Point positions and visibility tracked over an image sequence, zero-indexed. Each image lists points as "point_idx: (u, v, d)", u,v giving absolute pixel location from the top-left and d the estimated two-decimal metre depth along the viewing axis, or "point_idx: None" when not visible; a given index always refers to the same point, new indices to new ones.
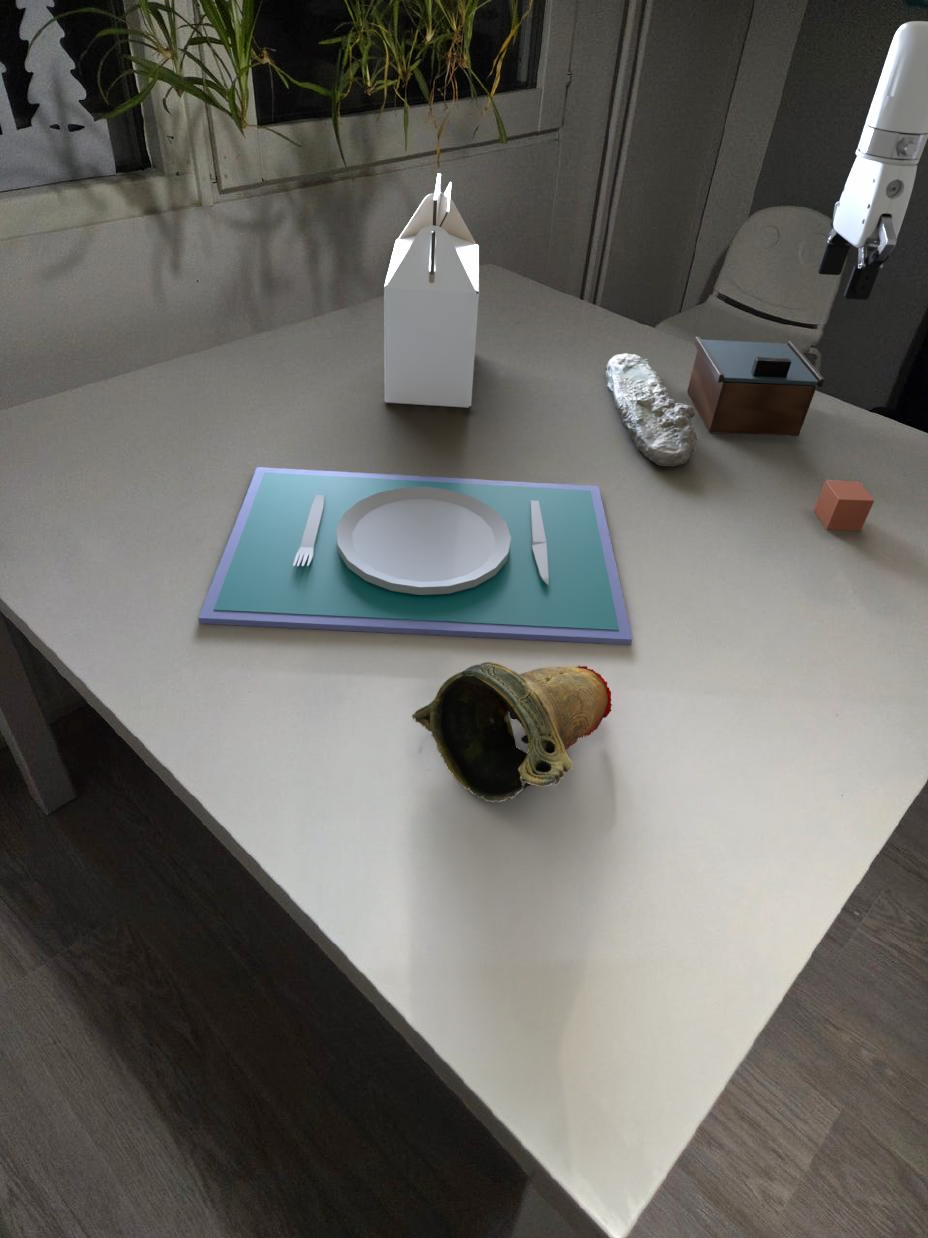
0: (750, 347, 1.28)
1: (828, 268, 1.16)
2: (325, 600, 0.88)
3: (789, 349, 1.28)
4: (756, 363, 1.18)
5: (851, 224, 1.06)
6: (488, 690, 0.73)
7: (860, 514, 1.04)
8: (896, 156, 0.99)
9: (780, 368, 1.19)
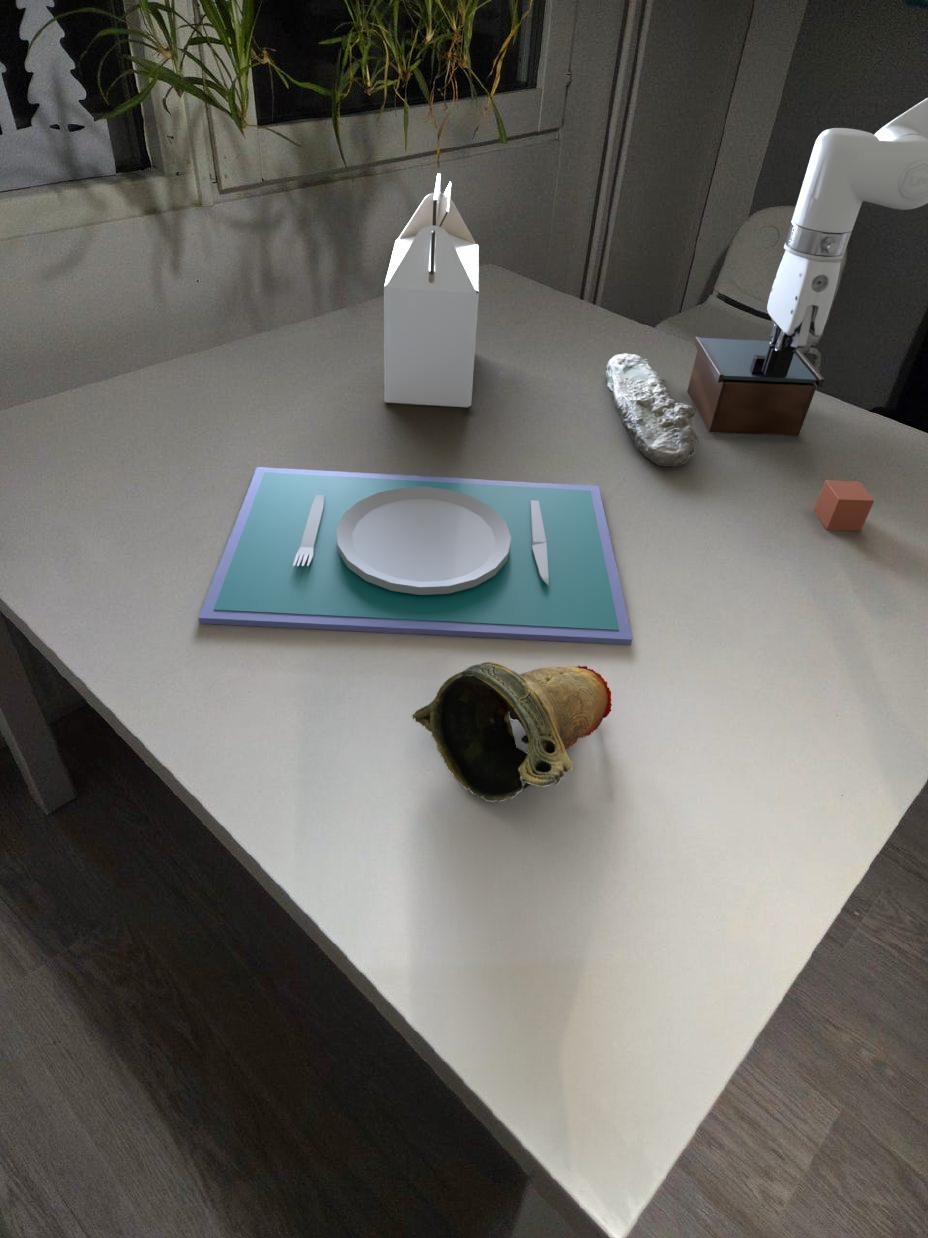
0: (749, 345, 1.28)
1: None
2: (325, 600, 0.88)
3: None
4: (755, 361, 1.19)
5: (782, 312, 1.11)
6: (488, 690, 0.73)
7: (860, 514, 1.04)
8: (820, 253, 1.04)
9: None
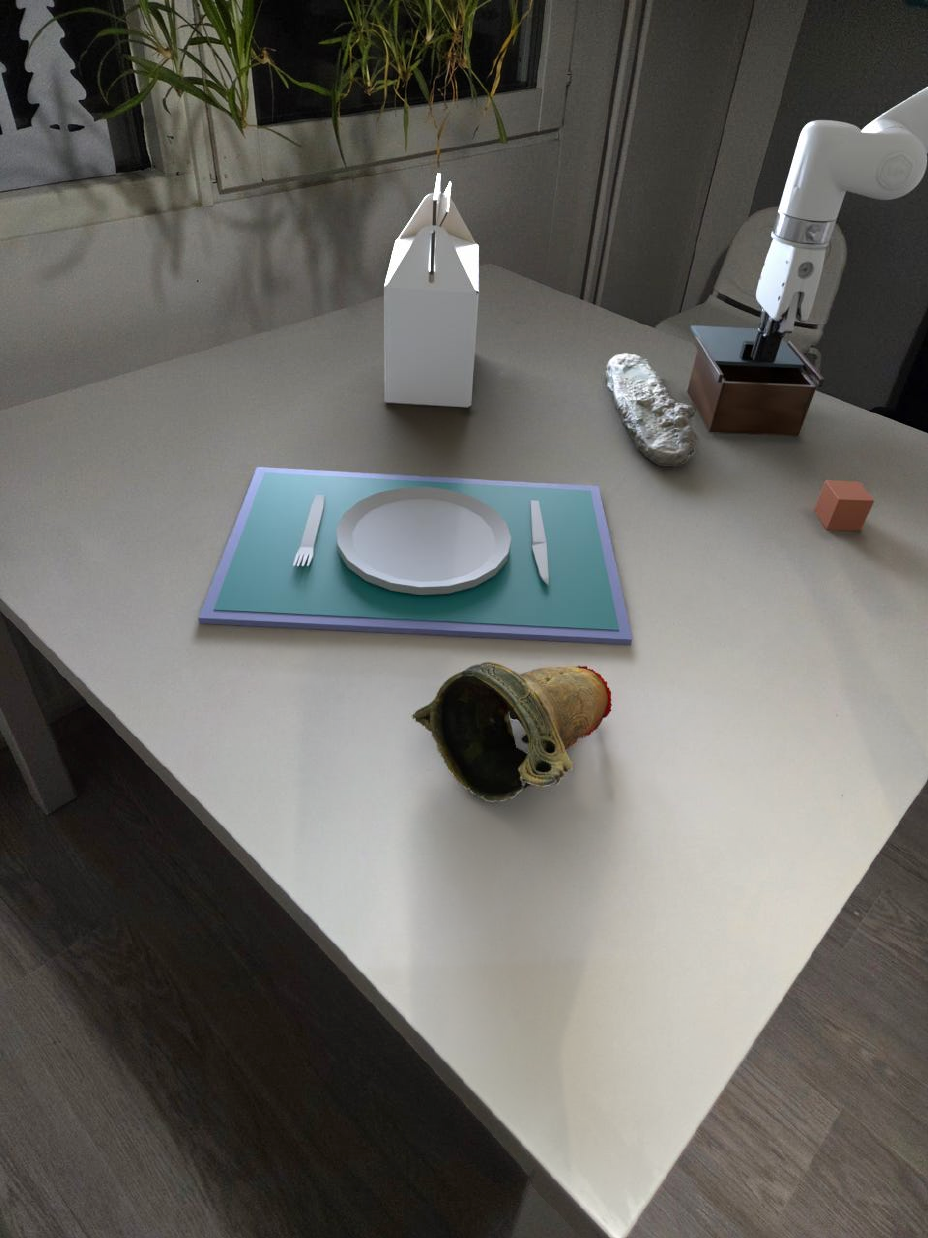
0: (739, 332, 1.32)
1: None
2: (325, 600, 0.88)
3: None
4: (744, 347, 1.23)
5: (769, 299, 1.15)
6: (488, 690, 0.73)
7: (860, 514, 1.04)
8: (806, 241, 1.08)
9: None
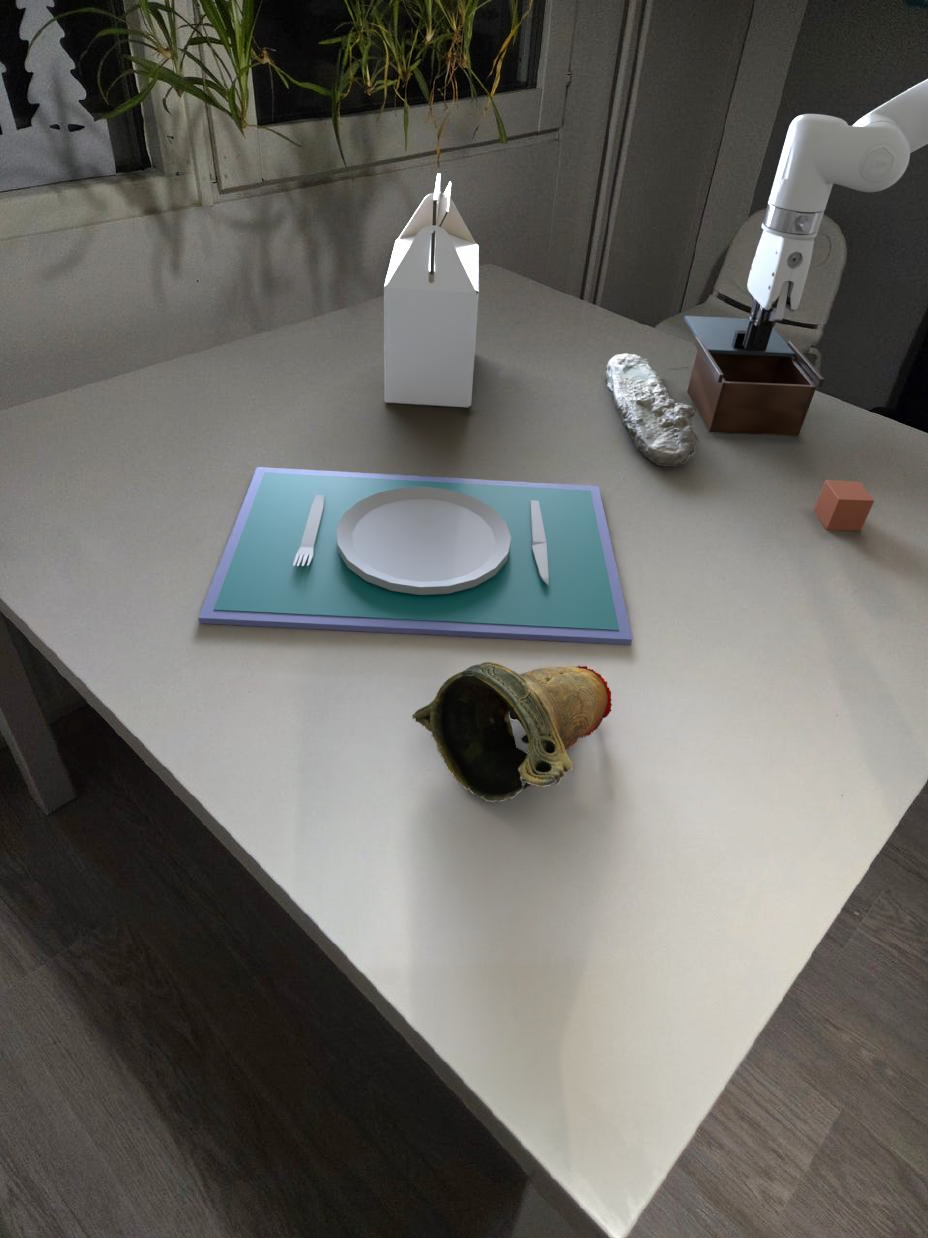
0: (732, 322, 1.35)
1: None
2: (325, 600, 0.88)
3: None
4: (736, 336, 1.26)
5: (760, 288, 1.18)
6: (488, 690, 0.73)
7: (860, 514, 1.04)
8: (795, 231, 1.11)
9: None
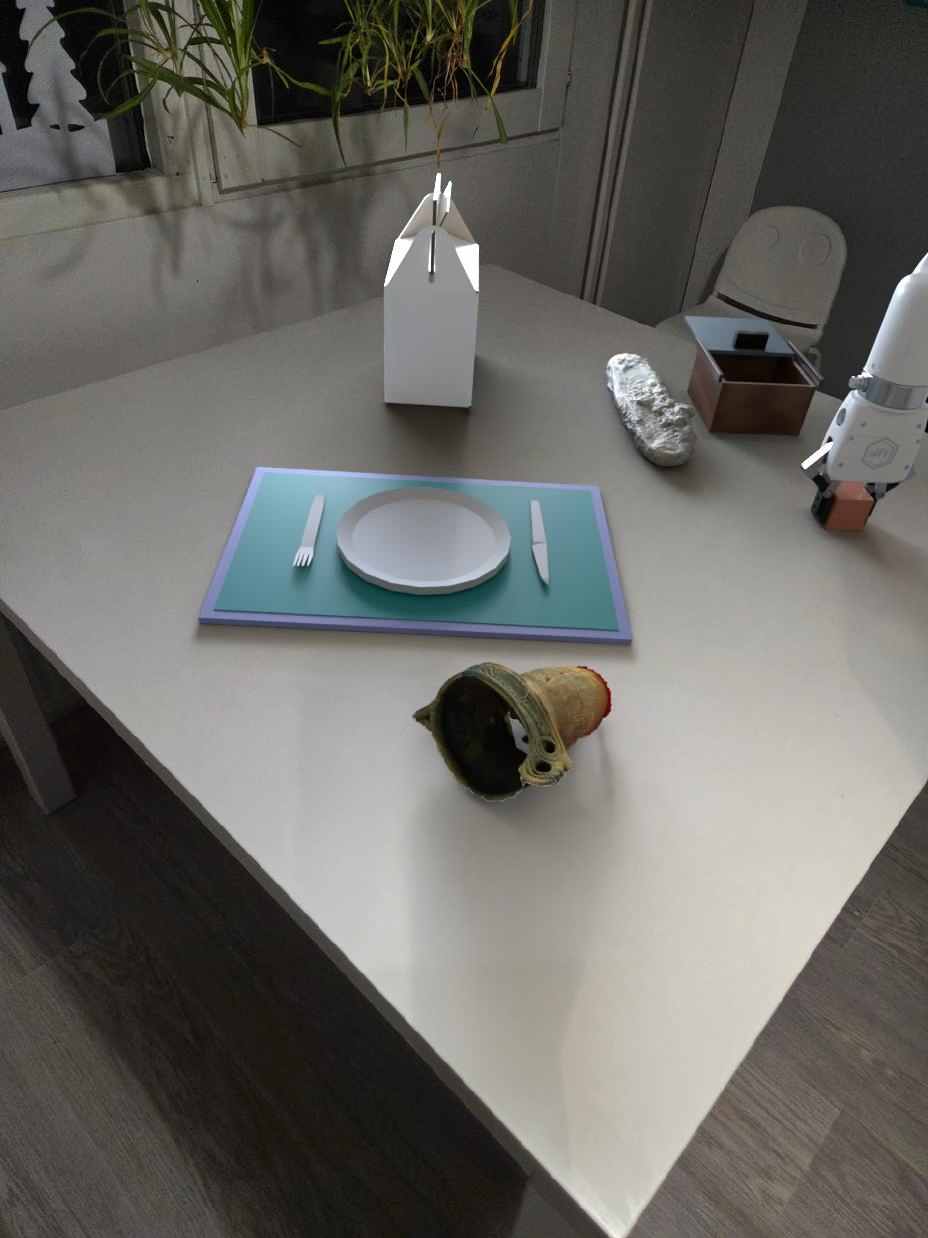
0: (732, 323, 1.35)
1: None
2: (325, 600, 0.88)
3: (769, 325, 1.36)
4: (736, 336, 1.26)
5: None
6: (488, 690, 0.73)
7: (860, 514, 1.04)
8: None
9: (759, 341, 1.27)
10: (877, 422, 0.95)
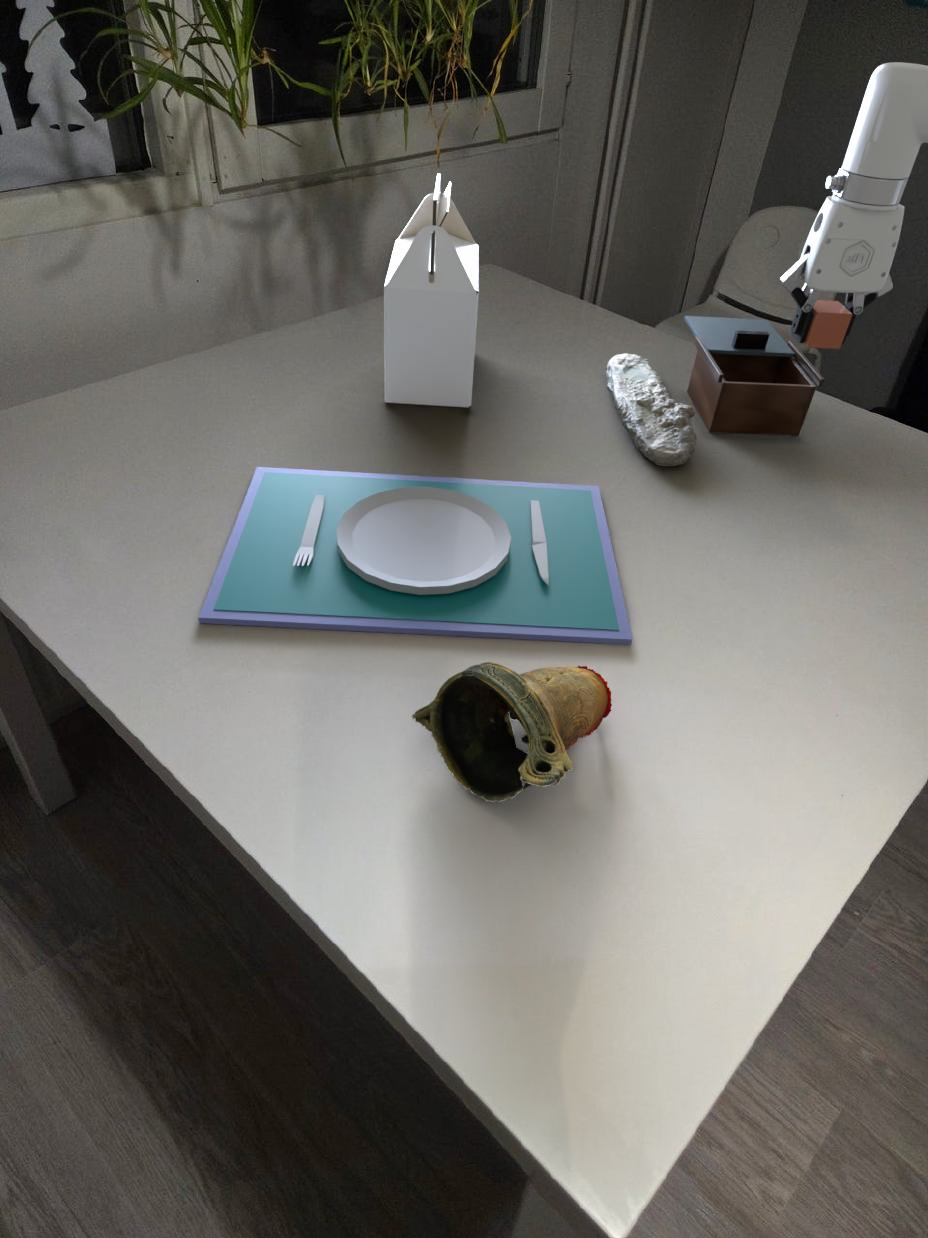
0: (732, 323, 1.35)
1: None
2: (325, 600, 0.88)
3: (769, 325, 1.36)
4: (736, 336, 1.26)
5: None
6: (488, 690, 0.73)
7: (838, 329, 1.06)
8: (834, 191, 0.98)
9: (759, 341, 1.27)
10: (854, 222, 0.97)
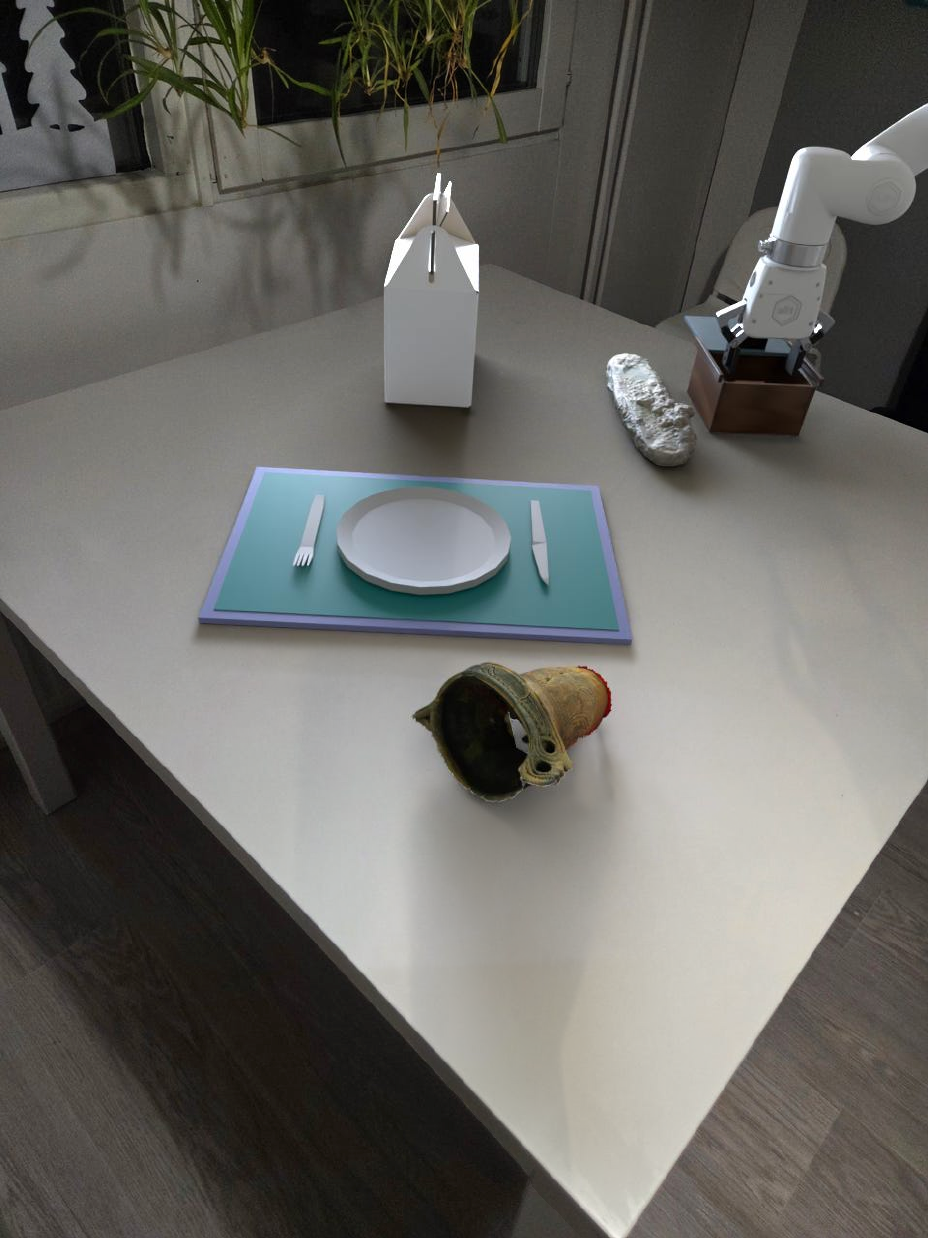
0: (732, 323, 1.35)
1: (788, 365, 1.24)
2: (325, 600, 0.88)
3: None
4: None
5: None
6: (488, 690, 0.73)
7: None
8: None
9: (759, 341, 1.27)
10: (782, 280, 1.12)
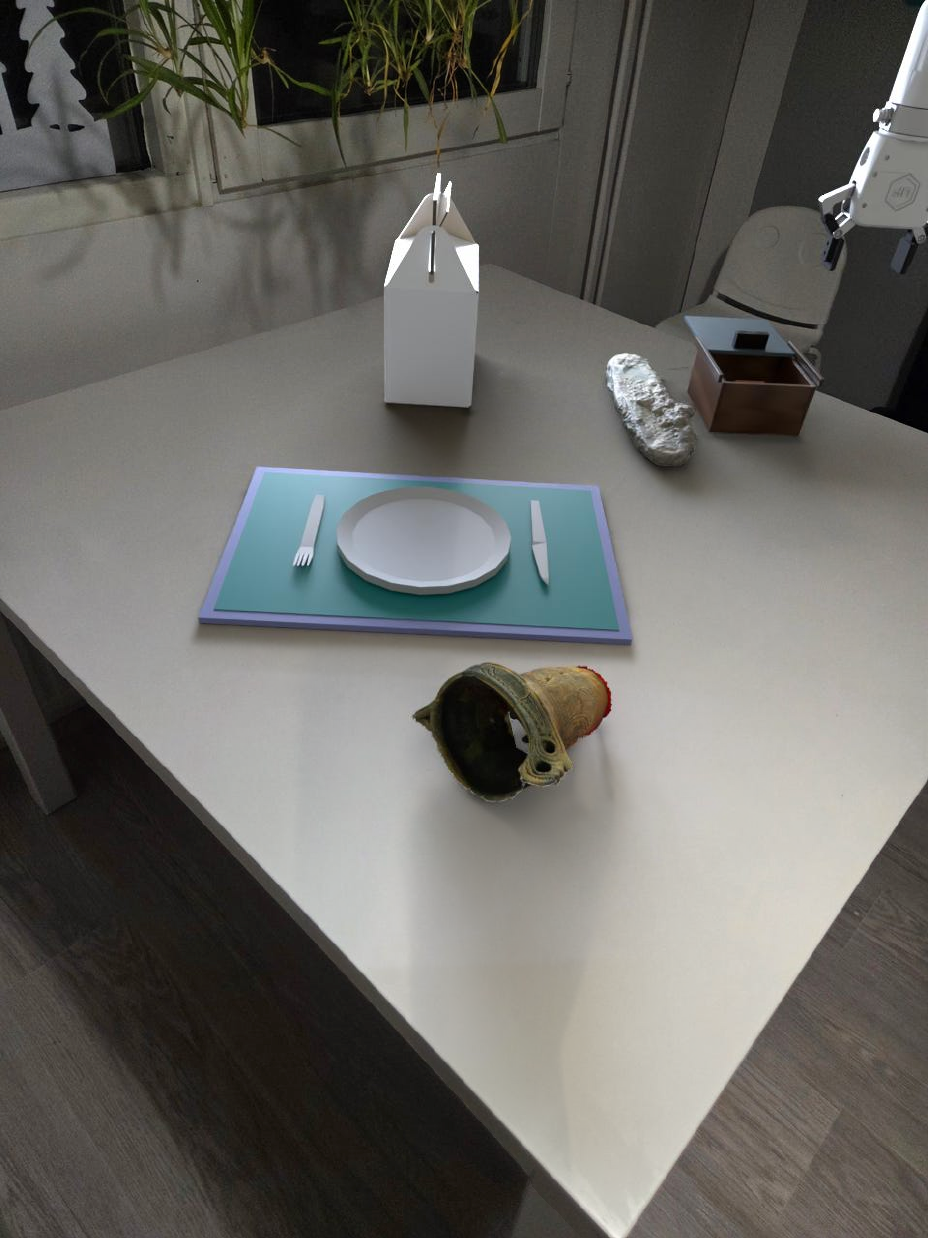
0: (732, 323, 1.35)
1: (895, 263, 1.10)
2: (325, 600, 0.88)
3: (769, 325, 1.36)
4: (736, 336, 1.26)
5: None
6: (488, 690, 0.73)
7: None
8: (881, 124, 1.00)
9: (759, 341, 1.27)
10: (901, 155, 0.99)
